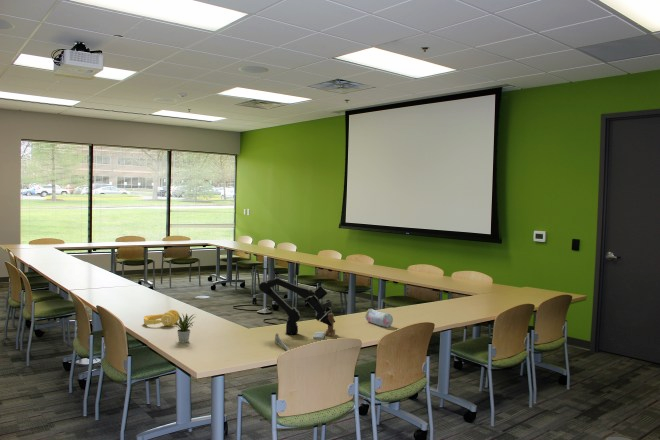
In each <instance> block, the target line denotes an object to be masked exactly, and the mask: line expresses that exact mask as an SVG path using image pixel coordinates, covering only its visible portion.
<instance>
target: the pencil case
mask: <svg viewBox="0 0 660 440" xmlns="http://www.w3.org/2000/svg"><path fill="white" fill-rule="evenodd" d="M364 317H365V320H366V321H367V323H370V324H373V325H377V326H380V327H384V328H390V327H391V325H393V322H394V318H393V315H391V314H390V313H386V312H380V311H377V310H375V309H373V308H368V310H367V311H366V313H365V316H364Z"/></svg>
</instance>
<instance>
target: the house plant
mask: <svg viewBox="0 0 660 440" xmlns="http://www.w3.org/2000/svg"><path fill="white" fill-rule="evenodd" d="M181 314H182V317H181V315H180V314H179V315H180V316H179V315H178V317H179V320H177V322H178V323H177V322H176V323H174V324H173V325H174V327H175V328H178V329H177V337H178V342H179V343H189V340H190V335H191V329H190V328H192V327H194V326H193V325H194V324H193V323H194V321H192V320H193V319H195V315H196V313H194V314H191V315H190V316H189V315H188V313H186V314H183V313H181ZM184 315H185V316H184ZM173 318H174V317H173ZM182 318H183V319H182Z"/></svg>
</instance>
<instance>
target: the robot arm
mask: <svg viewBox="0 0 660 440" xmlns="http://www.w3.org/2000/svg"><path fill="white" fill-rule="evenodd" d="M277 285H278V286H280V287H282V288H284V289H287V290H289V291H291V292H293V293H295V294H296V295H298V296H299V297H301V298H302V299H304V300H303V301H304V304H305V305H307V303H308V305H309V306H310V307H311V308H312V309H313V310H312V311H315V312H316V314H317V315H316V316H315V319H316V321H317V322H320V323H323V324H324V325H327V326H328V325H329V326H332V324H331V322H330V321H329V319H328V314H329V313H333V312H332V307H333V306H334V304H333V300H331V299H330V298H328V299H326V302H320V301H319V300H322V299H324V297H326V296H327V295H328V294H329V292H328V291H327V290H326V289H325V288H324V287H323V286H322V285H319V286H318V287H317V288H316V289H315V290H312V289H309V288H308V287H304V286H299V285H296V284H294V283H291V282H289V281H287V280H284V279H282V278H280V277H274V278H272V279H268V280H262V281H261V282H260V283H259V285H258V289H259V290H260V292H262V293H264V294H265V295H267V296H268V297H270V298H271V300H273V301H274V302H275V303H276V304H277V305H278V306H279V307H280V308H281V309H282V310H283V311H284V312H285V314H286V315H287V316H288V317H287V319H286V325H285V332H284V333H285V335H290V336H291V335H293V336H296V335H297V334H298V333H299V325H298V322H299V320H300V318H301V317H300V316H301V315H300V311H299V310H298V309H297V308H296V306H293V307H292V306H290V305H289V304H288V303H287V302H286V301H285V300H284V299H283V298H282V297H281V296H280V295H279V294H278V293H277V292H276V291H275V290H274V289H273V287H276V286H277ZM335 323H336V320H335V319H334V322H333V324H335Z"/></svg>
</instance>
